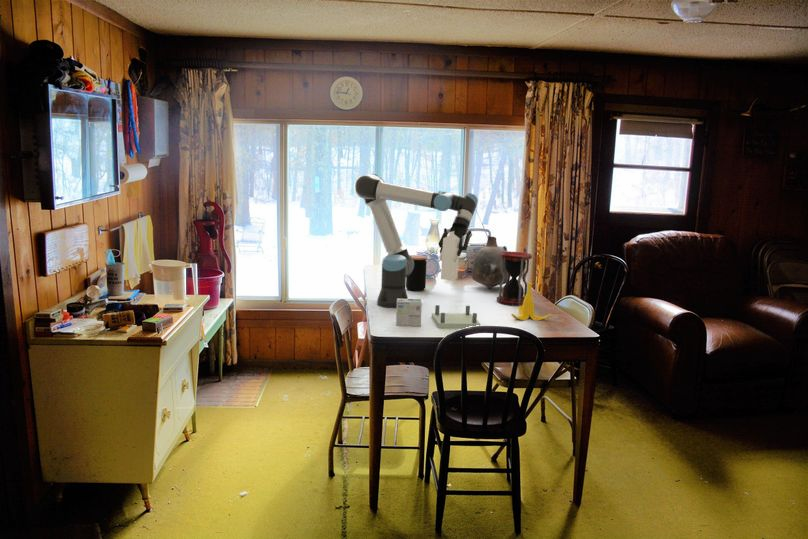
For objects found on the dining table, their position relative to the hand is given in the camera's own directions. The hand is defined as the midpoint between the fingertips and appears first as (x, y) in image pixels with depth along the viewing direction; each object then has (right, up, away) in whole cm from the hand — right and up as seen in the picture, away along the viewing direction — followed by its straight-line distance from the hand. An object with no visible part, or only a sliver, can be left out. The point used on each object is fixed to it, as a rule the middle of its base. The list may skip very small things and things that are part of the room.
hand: (447, 259), depth 290 cm
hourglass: (+35, -21, +35) cm, 54 cm away
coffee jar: (-13, -15, +56) cm, 60 cm away
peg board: (+3, -28, -11) cm, 30 cm away
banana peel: (+39, -27, +2) cm, 48 cm away
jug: (+29, -15, +68) cm, 75 cm away
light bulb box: (-18, -28, -16) cm, 37 cm away
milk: (+1, -9, +5) cm, 10 cm away
